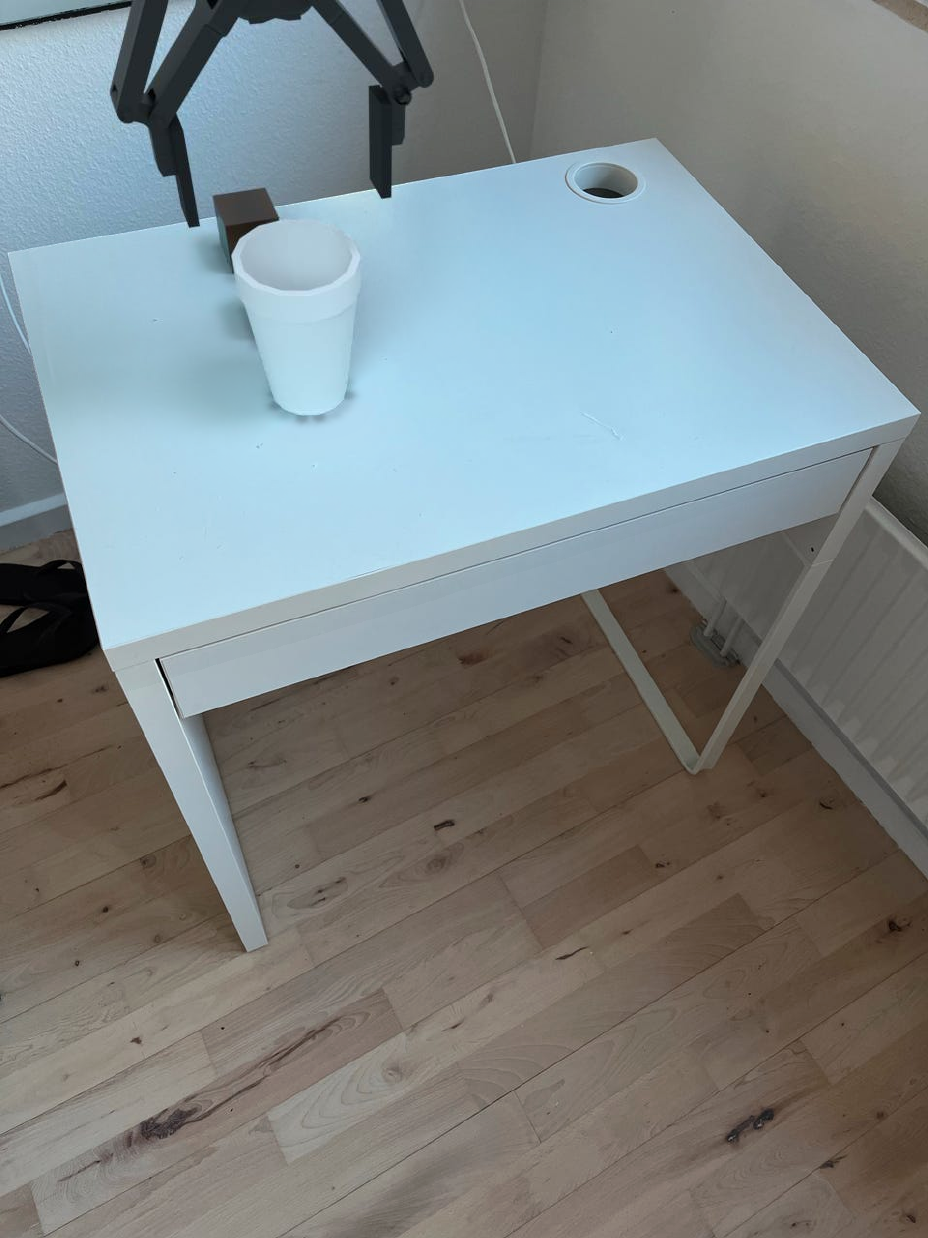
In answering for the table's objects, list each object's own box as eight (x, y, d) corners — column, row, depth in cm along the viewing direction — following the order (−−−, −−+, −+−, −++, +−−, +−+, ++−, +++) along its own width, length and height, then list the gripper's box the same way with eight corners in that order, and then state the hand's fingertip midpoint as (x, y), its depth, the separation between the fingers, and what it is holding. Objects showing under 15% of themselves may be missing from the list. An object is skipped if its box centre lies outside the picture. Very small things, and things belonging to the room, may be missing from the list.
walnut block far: (232, 273, 88) (224, 225, 84) (220, 243, 91) (212, 195, 87) (284, 264, 90) (279, 217, 86) (271, 234, 92) (265, 186, 88)
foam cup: (279, 442, 77) (261, 309, 66) (236, 372, 81) (212, 237, 70) (383, 406, 80) (381, 274, 69) (336, 341, 84) (328, 207, 73)
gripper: (453, -215, 53) (436, 150, 71) (-11, -201, 47) (95, 197, 64) (504, -168, 50) (472, 205, 67) (5, -146, 43) (114, 261, 61)
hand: (288, 202), depth 66 cm, fingers open, 13 cm apart
